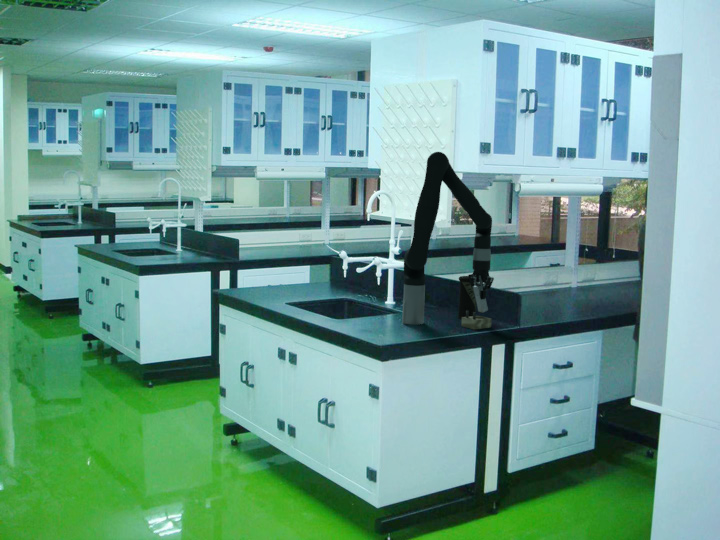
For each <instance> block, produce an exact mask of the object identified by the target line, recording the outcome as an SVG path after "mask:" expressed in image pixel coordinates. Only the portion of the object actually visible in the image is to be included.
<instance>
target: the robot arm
mask: <svg viewBox="0 0 720 540" xmlns="http://www.w3.org/2000/svg"><path fill="white" fill-rule="evenodd" d="M425 169H426V170H425V177H424V182H423V186H422V187H421V188H422V189H421V192H420V194H419V198H418V201H417V206H416V208H415V209H416V210H415V214H414V220H413V221H414V222H413V235H412V240H411V244H410V247H409V249H407V250H406V251H405V253H404V256H403V300H402V312H401V313H402V315H401V316H402V318H401V319H402V320H401V321H402V324H403V325H410V326H411V325H412V326H419V325H420V324H421V325H423V324H424V321H425V320H424V319H425V297H426V296H425V293H426V275H425V274H426V273H425V270H426V269H425V268H426V267H425V266H426V264H427V261H428V254H429V247H430V240H431V237H432V233H433V230H434V228H435V223H436V219H437V216H438V212H439V209H440V208H439V207H440V201H441V189H442V188H441V187H442V182H443V184H445V185H446V187H447V188H448V189H449V191H450V192H451V194H452V195H453V197H454V198H455V200H456V201H457V202H458V204H459V205H460V206H461V208H463V210H464V211H465V213H467V215H468V216H469V218H470V219H471V220H472V222H473V223H474V225H475V236H474V240H473V241H474V242H473V244H474V245H473V252H472V270H473V272H472V273H470V274H468V275H467V276H468V277H469V281H470V285H471V287H472V288H473V286H475V285H477V284H480V286H481V299H482V300H483V299H485V298H486V297H487V291H489V290H490V289H491V287H492V284H493V283H494V280H495V278H494V277H493V276H492V277H491V276H490V270H491V259H492V253H491V251H492V250H491V248H492V247H491V245H492V239H491V235H492V227H493V218H492V216H491V214H489V213H488V212H487V211H486V210H485V208H484V207H483V206H482V205H481V203H480V201H479V200H478V199H477V197H476V196H475V195H474V193H473V192H472V191H471V189H469V188H468V186H467V185H466V184H465V183H464V182H463V180H461V179H460V177H459V176H458V174H457V173H456V172H455V171H454V169H453V167H452V165H451V163H450V161H449V158H448V155H446V154H445V153H443V152H442V151H434V152H433V153H431V154H430V155H429V156H428V158H427V161H426V168H425ZM473 283H474V285H473ZM474 296H475V294H474Z"/></svg>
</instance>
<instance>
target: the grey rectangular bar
mask: <svg viewBox="0 0 720 540" xmlns="http://www.w3.org/2000/svg"><path fill="white" fill-rule="evenodd" d="M473 289H474V294H475V298H476V308H477V312H479V313H482V314H483V313H485V312H487V311H489V308H488V304H487V303H488V302H487V299H486V298H485V299H483V300H482V299H481V286H480V284H477V285H475V286H473Z"/></svg>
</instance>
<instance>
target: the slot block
mask: <svg viewBox="0 0 720 540" xmlns="http://www.w3.org/2000/svg"><path fill="white" fill-rule="evenodd" d="M460 323H461V325H460V326H461V327H463V328H467V329H471V330H481V329H482V330H483V329H489V328H492V318H491V317H486V316H483V315H477V311H476V312H473V316H470V317H469V311H466V317H462V319H461V322H460Z"/></svg>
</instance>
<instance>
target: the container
mask: <svg viewBox="0 0 720 540" xmlns="http://www.w3.org/2000/svg"><path fill="white" fill-rule="evenodd" d="M458 281H459V291H458V292H459V295H458V309H457V319H459V320H462V317H466V311H469V317H470V316H473V312H476V313H477V303H476V298H475V296H474V289H473V288H472V287H471V285H470V281H469V277H468V275H462V276H459V277H458ZM473 285H474V283H473Z"/></svg>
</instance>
